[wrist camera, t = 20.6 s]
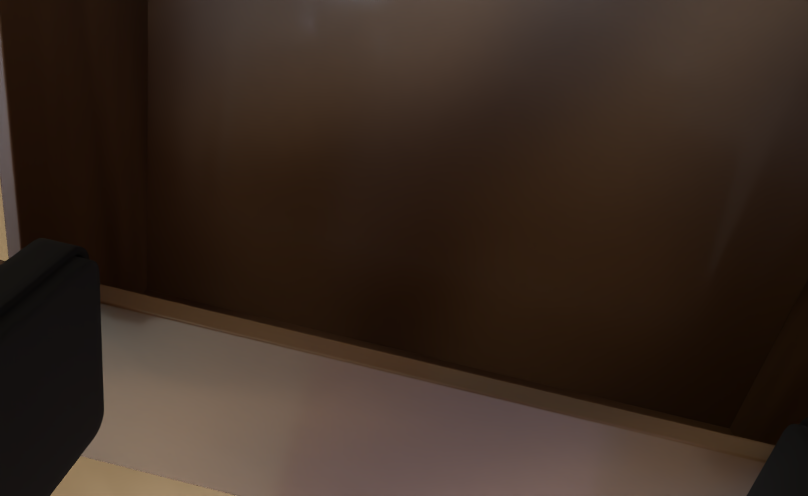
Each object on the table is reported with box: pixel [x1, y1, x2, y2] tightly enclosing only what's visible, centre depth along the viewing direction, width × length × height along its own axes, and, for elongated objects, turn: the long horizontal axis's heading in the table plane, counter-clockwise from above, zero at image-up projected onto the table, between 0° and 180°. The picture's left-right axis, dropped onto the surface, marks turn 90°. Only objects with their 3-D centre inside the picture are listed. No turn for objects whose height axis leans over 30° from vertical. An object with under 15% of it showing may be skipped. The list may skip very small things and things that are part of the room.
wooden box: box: [0, 0, 808, 445], centre depth 14 cm, size 17×13×5 cm
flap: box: [0, 260, 775, 496], centre depth 12 cm, size 16×6×1 cm, turn 80°
